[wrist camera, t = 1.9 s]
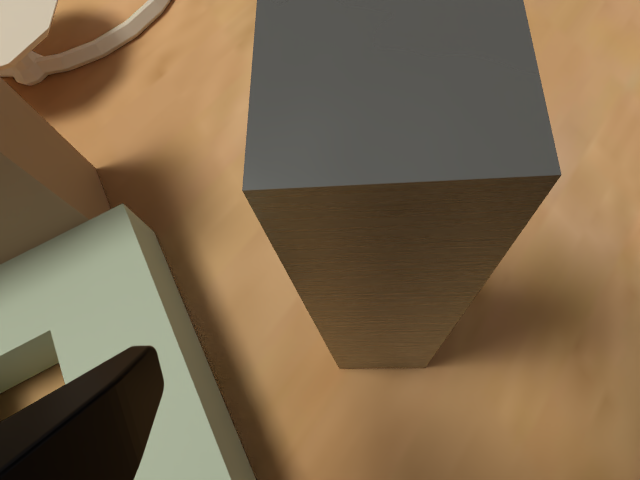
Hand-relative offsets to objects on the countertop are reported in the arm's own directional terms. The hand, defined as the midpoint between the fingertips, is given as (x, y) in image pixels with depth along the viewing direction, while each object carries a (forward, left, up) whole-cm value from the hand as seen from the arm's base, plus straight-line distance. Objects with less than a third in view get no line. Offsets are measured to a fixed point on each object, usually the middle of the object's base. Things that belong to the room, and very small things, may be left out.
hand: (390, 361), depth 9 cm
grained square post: (+3, -1, -10) cm, 11 cm away
